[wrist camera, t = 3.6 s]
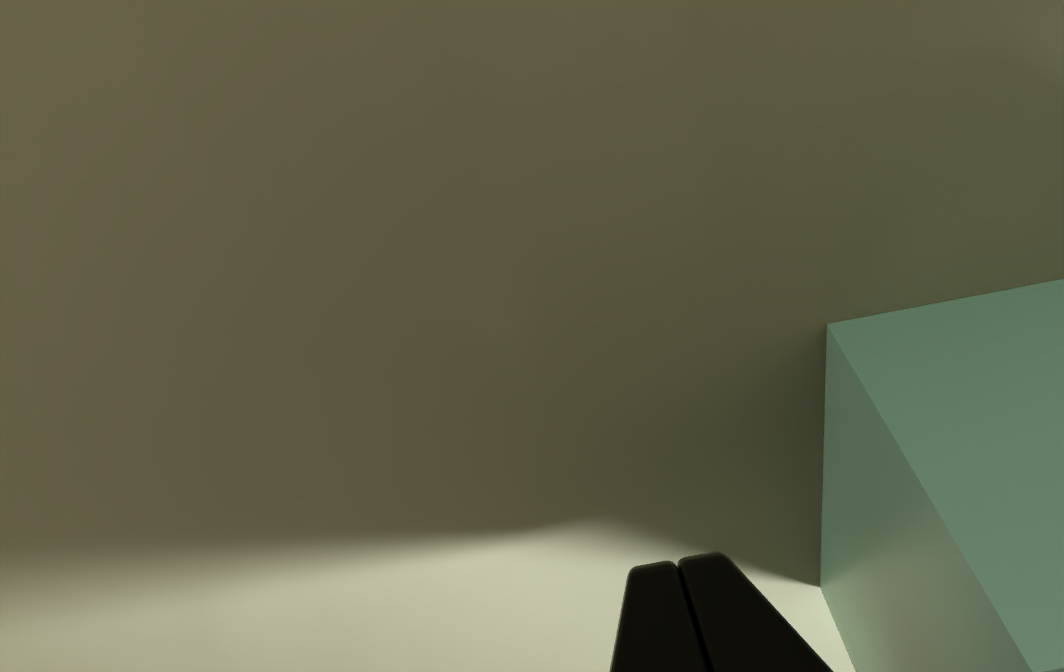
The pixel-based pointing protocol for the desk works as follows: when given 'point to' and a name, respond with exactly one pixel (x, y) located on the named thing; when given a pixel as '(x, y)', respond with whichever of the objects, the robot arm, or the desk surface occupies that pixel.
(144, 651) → the desk surface
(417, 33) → the desk surface
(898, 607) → the green block
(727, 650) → the robot arm
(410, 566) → the desk surface
